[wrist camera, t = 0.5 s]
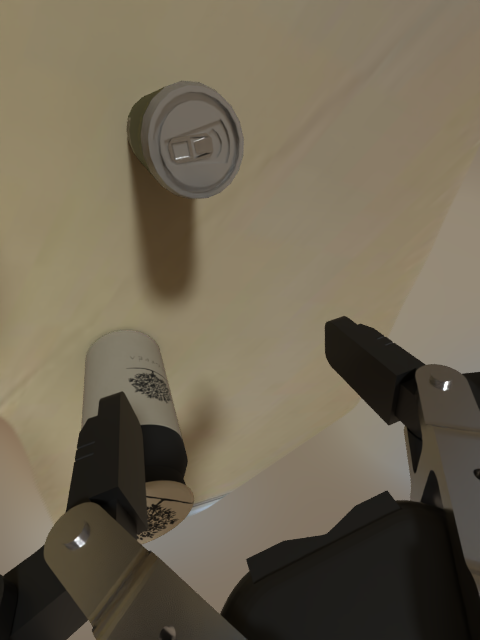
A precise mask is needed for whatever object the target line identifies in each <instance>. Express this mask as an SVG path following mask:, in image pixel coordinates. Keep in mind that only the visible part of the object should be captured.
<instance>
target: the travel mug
mask: <svg viewBox="0 0 480 640" xmlns="http://www.w3.org/2000/svg"><path fill="white" fill-rule="evenodd" d="M121 391H123V392H124V393H125V395H126V397H127V399H128V400H129V402H130V404H131V406H132V408H133V410H134V412H135V414H136V416H137V418H138V420H139V423H140V426H141V429H142V434H143V449H144V466H145V483H146V500H147V518H148V530H146V531H144V532H142V533H139V534H137V541H138V542H139V543H140V544H144V543H147V542H149V541H152V540H154V539H156V538H158V537H160V536H162V535H164V534H165V533H167V532H168V531H170V530H172V529H173V528H175V527H176V526H177V525H178V524H179V523H181V522H182V521H183V520H184V519H185V518H186V516H187V515H188V514H189V512H190V510H191V509H192V506H193V502H194V497H193V493H192V491H191V490H190V488H189V487H187V486H186V484H185V482H184V479H183V478H184V474H185V471H186V467H187V462H188V461H187V455H186V451H185V447H184V443H183V439H182V435H181V431H180V427H179V423H178V419H177V416H176V412H175V408H174V404H173V400H172V396H171V392H170V388H169V384H168V380H167V376H166V372H165V368H164V364H163V360H162V357H161V353H160V349H159V346H158V344H157V343H156V342H155V340H154V339H152V338H151V337H150V336H148V335H146V334H144V333H142V332H138V331H133V330H121V331H115V332H112V333H109V334H106V335H104V336H102V337H101V338H99V339H98V340H96V341H95V342H94V343H93V344H92V345H91V347H90V348H89V350H88V352H87V355H86V361H85V378H84V394H83V410H82V427H81V430H82V428H83V426H84V424H85V423H86V421H87V419H89V418H91V417H94V416H97V415H98V407H99V400H100V399H101V398H103V397H106V396H109V395H112V394H115V393H118V392H121Z"/></svg>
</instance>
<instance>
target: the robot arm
mask: <svg viewBox="0 0 480 640" xmlns="http://www.w3.org/2000/svg"><path fill="white" fill-rule="evenodd" d="M325 354H326V358H327V360H328V362H329V364H330V365H331V367H332V368H333V369H334V370H335V371H336V372H337V373H338V374H339V375H340V376H341V377H342V378H343V379H344V380H345V381H346V382H347V383H348V384H349V385H350V386H351V387H352V388H353V389H354V390H355V391H356V392H357V393H358V395H359V396H360V397H361V398H362V399H363V400H364V401H365V402H366V403H367V404H368V405H369V406H370V407H371V408H372V409H373V410H374V411H375V412H376V413H377V414H378V415H379V416H380V417H381V418H382V419H383V420H384V421H385V422H386V423H387V424H388V425H391V424H393V423H396V422H398V421H401V422H402V423H403V424H404V425H405V427H404V435H405V442H406V450H407V457H408V464H409V470H410V478H411V495H410V501H407V500H401V501H400V500H397V501H395V500H394V499H393V497H392V496H391V495H390V494H389V492H388V491H385V492H383V493H381V494H379V495H377V496H375V497H373V498H371V499H369V500H367V501H364V502H362V503H361V504H358V505H356V506H355V507H354V508H353V509H352V510H351V511H350V512H349V513H348V514H347V515H346V516H345V517H344V518H343V519H342V520H341V521H340V522H339V523H338V524H337V525H336V526H335V527H334V528H332V529H331V530H330V531H329V532H328V533H327V534H325V535H321V536H313V537H307V538H300V539H293V540H287V541H283V542H280V543H278V544H277V545H274V546H272V547H270V548H268V549H266V550H264V551H262V552H260V553H258V554H256V555H254V556H252V557H250V558H248V559H247V564H248V567H249V570H250V571H249V572H248V573H247V574H246V575H245V576H244V577H243V578H242V579H241V580H240V581H239V583H238V584H237V585H236V586H235V588H234V589H233V591H232V592H231V594H230V595H229V597H228V599H227V601H226V603H225V605H224V607H223V609H222V611H221V613H220V614H219V613H218V612H217V611H216V610H215V609H214V608H213V607H212V606H210V605H209V604H208V603H207V602H206V601H205V600H204V599H203V598H202V597H201V596H200V595H199V594H197V593H196V592H195V591H194V590H193V589H192V588H191V587H190V586H189V585H188V584H187V583H186V582H185V581H183V580H182V579H181V578H180V577H179V576H178V575H177V574H176V573H175V572H174V571H173V570H172V569H171V568H169V567H168V566H167V565H166V564H165V563H164V562H163V561H162V560H161V559H160V558H159V557H157V556H156V555H155V554H154V553H153V552H151V551H148V550H147V549H145V548H144V547H143V546H142V545H141V544H140V543H139V542H138V541H137V534H139V533H142V532H144V531H146V530H148V518H147V500H146V483H145V466H144V449H143V434H142V429H141V426H140V423H139V420H138V418H137V416H136V414H135V412H134V410H133V408H132V406H131V404H130V402H129V400H128V399H127V397H126V395H125V393H124V392H123V391H121V392H118V393H115V394H112V395H109V396H106V397H103V398H101V399H100V400H99V407H98V415H97V416H94V417H91V418H89V419H87V421H86V423H85V424H84V426H83V428H82V430H81V431H80V433H79V438H78V444H77V449H78V450H76V456H75V461H76V462H74V468H73V474H72V479H71V485H70V491H69V497H68V503H67V509H66V513H65V514H64V515H63V516H61V517H60V519H59V520H58V521H57V522H56V523H55V525H54V526H53V527H52V529H51V531H50V532H49V534H48V537H47V539H46V542H45V545H43V546H42V547H41V548H40V549H39V550H38V551H37V552H35V553H34V554H32V555H31V556H30V557H28V558H27V559H26V560H24V561H23V562H22V563H20V564H19V565H17V566H16V567H15V568H13V569H12V570H11V571H9V572H8V573H7V574H5V575H4V576H2V575H0V640H66V639H68V638H69V637H70V636H71V635H72V634H73V633H74V632H75V631H77V630H78V629H79V628H80V627H81V626H82V625H83V624H84V623H85V622H87V620H89V621H90V623H91V625H92V627H93V629H92V632H93V635H94V637H95V638H96V640H480V372H475V373H465V374H461V373H460V372H458V371H456V370H454V369H452V368H450V367H447V366H443V365H437V364H430V365H425V364H424V363H422V362H421V361H420V360H418V359H416V358H415V357H414V356H412V355H411V354H410V353H408V352H407V351H405V350H404V349H402V348H401V347H400V346H398V345H396V344H395V343H393V342H392V341H391V340H389V339H388V338H387V337H384V335H382V334H381V333H380V332H378V331H377V330H375V329H374V328H371V327H368V326H365V325H363V324H358V325H357V324H356V323H354V322H353V321H352V320H350V319H349V318H348V317H346V316H343V317H340V318H337V319H334V320H331V321H328V322H326V324H325Z"/></svg>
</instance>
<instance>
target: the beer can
mask: <svg viewBox="0 0 480 640" xmlns="http://www.w3.org/2000/svg"><path fill="white" fill-rule="evenodd" d="M127 135H128V141H129V144H130V146H131V148H132V151H133V153H134V154H135V156H136V157H137V158H138V159H139V161H140V162H141V163H142V164H143V165H144V166H145V167H146V169H147V170H148V171H149V172H150V173H151V174H152V175H153V177H154V178H155V179H156V180H157V181H158V182H159V183H160V184H161V186H163V187H164V188H166V189H167V190H169V191H170V192H172V193H173V194H175V195H177V196H181V197H184V198H188V199H200V198H209V197H211V196H213V195H216V194H218V193H220V192H222V191H223V190H224V189H225V188H226V187H227V186H228V185H230V184H231V182H232V181H233V179H234V178H235V176H236V174H237V173H238V171H239V168H240V165H241V161H242V158H243V146H244V138H243V133H242V129H241V125H240V121H239V119H238V117H237V115H236V114H235V112H234V110H233V108H232V106H231V105H230V104H229V103H228V102H227V101H226V100H225V99H224V98H223V97H222V96H221V95H220V94H219V93H218V92H217V91H216V90H214V89H212V88H210V87H208V86H206V85H204V84H202V83H200V82H191V81H180V82H177V83H174V84H171V85H169V86H166V87H164V88H161V89H159V90H157V91H155V92H153V93H151V94H148V95H146V96H144V97H142V98H141V99H140V100H139V101H138V102H137V103H135V104H134V105H133V107H132V109H131V112H130V114H129V116H128V121H127Z"/></svg>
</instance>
